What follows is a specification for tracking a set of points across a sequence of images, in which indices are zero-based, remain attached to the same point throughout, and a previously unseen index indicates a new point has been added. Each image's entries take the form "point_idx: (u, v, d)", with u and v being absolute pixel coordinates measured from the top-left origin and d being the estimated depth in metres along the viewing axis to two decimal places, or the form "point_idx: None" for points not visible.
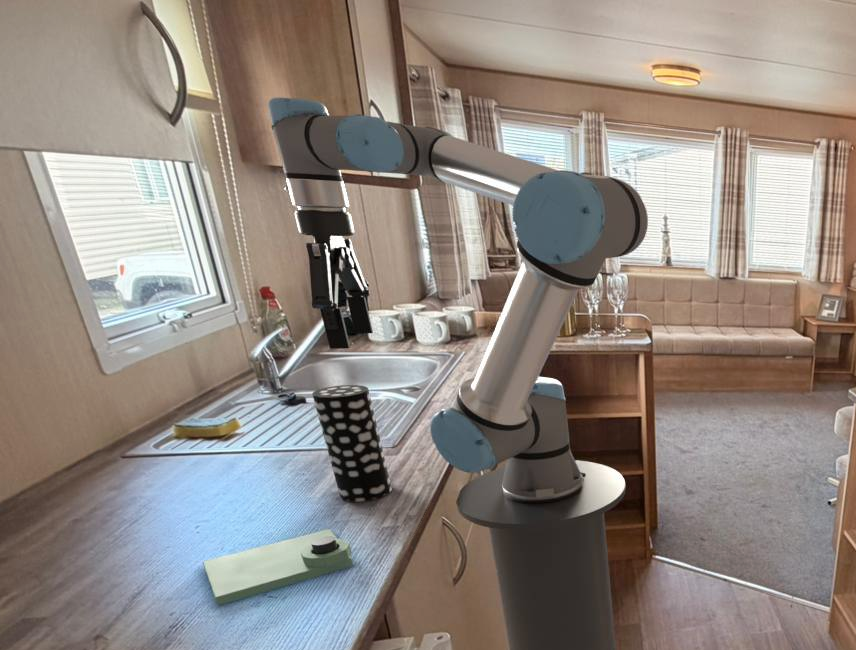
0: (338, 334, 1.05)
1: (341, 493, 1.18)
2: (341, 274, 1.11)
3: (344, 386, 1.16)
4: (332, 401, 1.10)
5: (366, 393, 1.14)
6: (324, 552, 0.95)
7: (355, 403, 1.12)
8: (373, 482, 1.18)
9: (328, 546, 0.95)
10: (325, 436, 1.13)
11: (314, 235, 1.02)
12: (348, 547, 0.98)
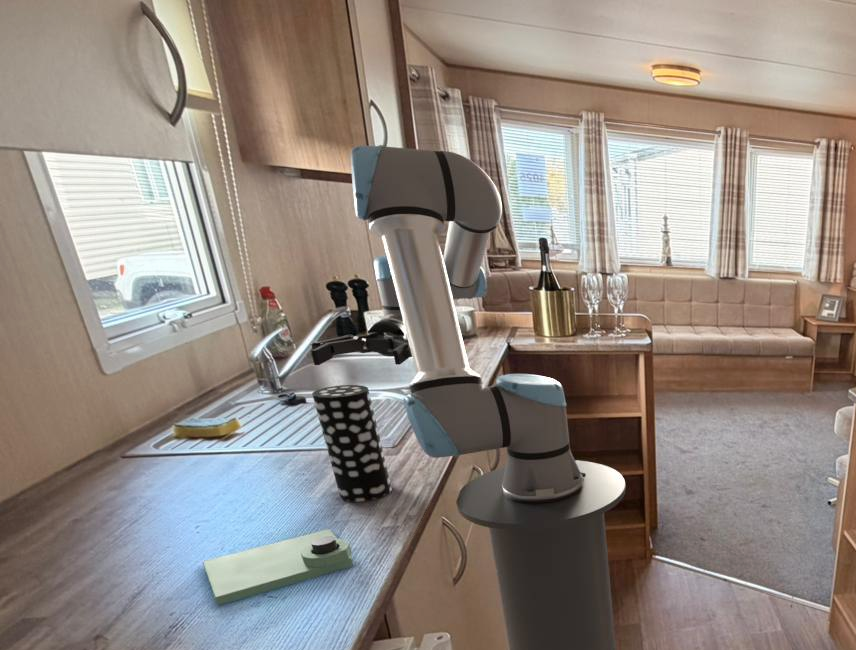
0: None
1: (341, 493, 1.18)
2: None
3: (344, 386, 1.16)
4: (332, 401, 1.10)
5: (366, 393, 1.14)
6: (324, 552, 0.95)
7: (355, 403, 1.12)
8: (373, 482, 1.18)
9: (328, 546, 0.95)
10: (325, 436, 1.13)
11: None
12: (348, 547, 0.98)
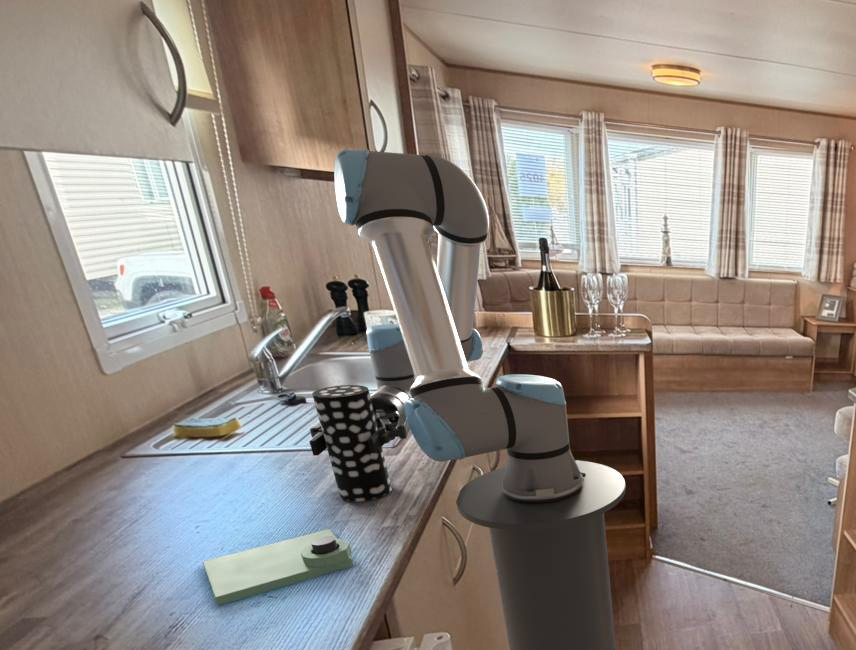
0: None
1: (341, 493, 1.18)
2: None
3: (344, 386, 1.16)
4: (332, 401, 1.10)
5: (366, 393, 1.14)
6: (324, 552, 0.95)
7: (355, 403, 1.12)
8: (373, 482, 1.18)
9: (328, 546, 0.95)
10: (325, 436, 1.13)
11: None
12: (348, 547, 0.98)
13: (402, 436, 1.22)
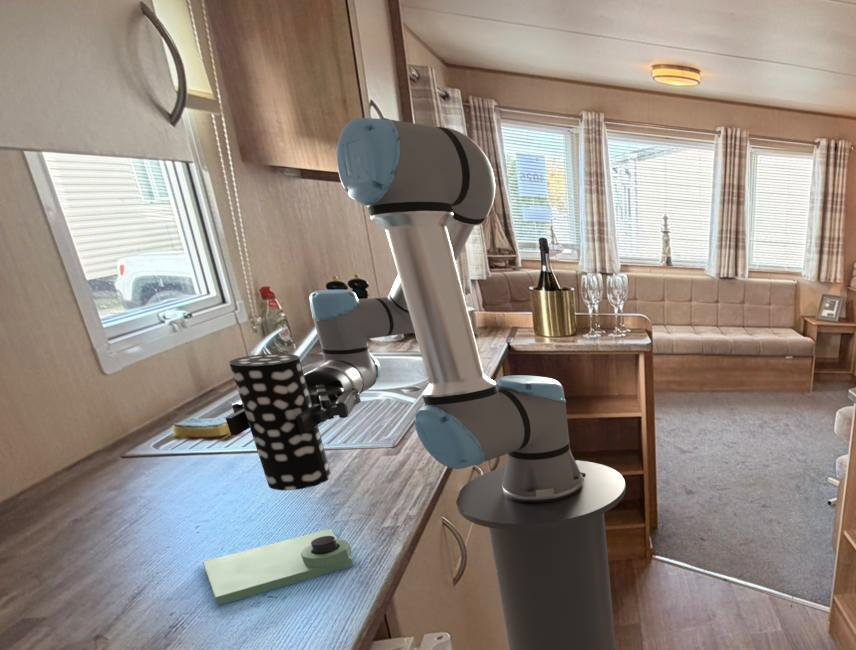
0: None
1: (268, 480, 1.01)
2: None
3: (271, 355, 0.99)
4: (252, 371, 0.93)
5: (295, 362, 0.97)
6: (324, 552, 0.95)
7: (280, 374, 0.95)
8: (306, 468, 1.01)
9: (328, 546, 0.95)
10: (246, 413, 0.96)
11: None
12: (348, 547, 0.98)
13: (342, 415, 1.04)
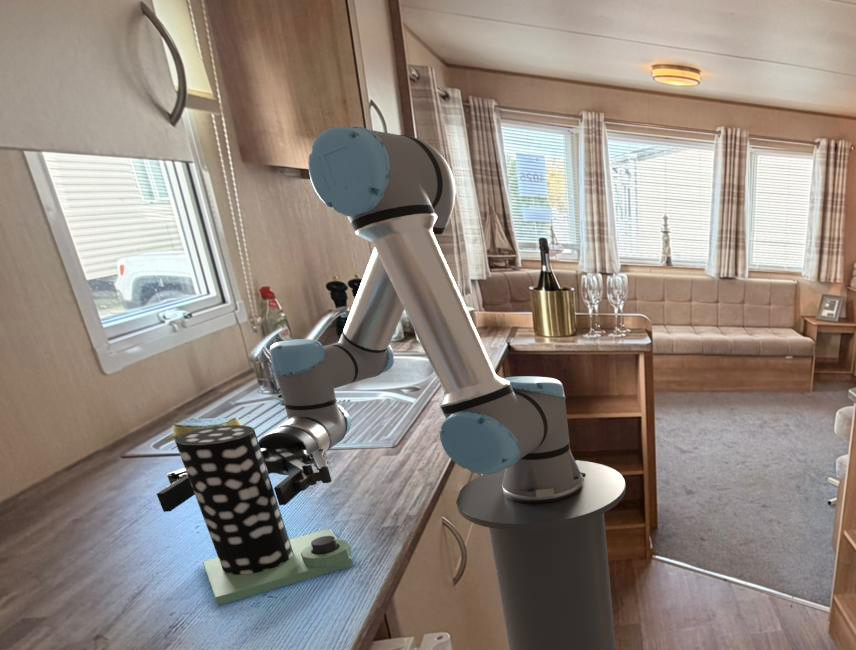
0: None
1: (222, 564, 0.92)
2: (292, 472, 0.99)
3: (224, 427, 0.90)
4: (200, 450, 0.84)
5: (250, 437, 0.88)
6: (324, 552, 0.95)
7: (232, 451, 0.86)
8: (263, 549, 0.92)
9: (328, 546, 0.95)
10: (195, 493, 0.87)
11: None
12: (348, 547, 0.98)
13: (326, 480, 0.97)
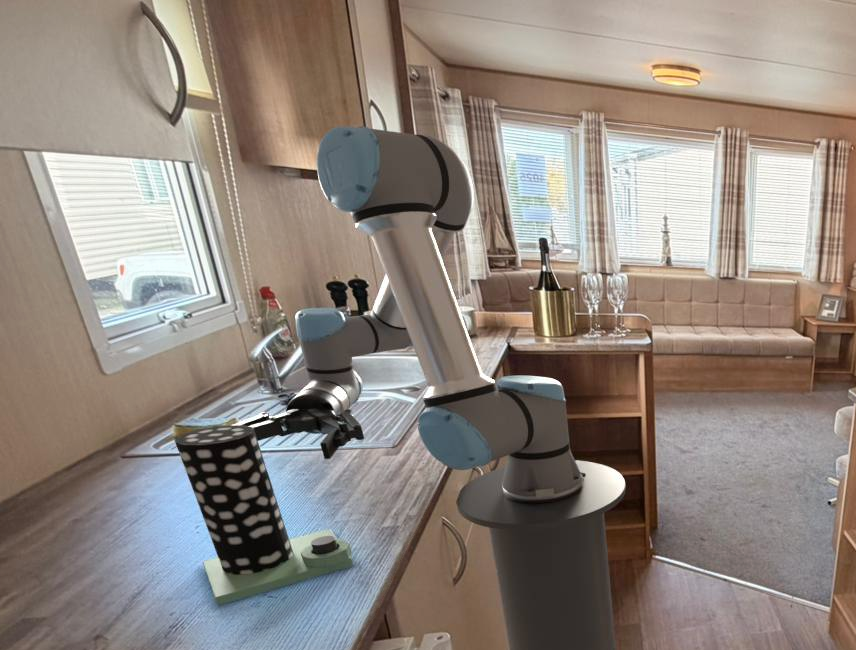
0: None
1: (222, 564, 0.92)
2: (326, 430, 1.09)
3: (223, 427, 0.90)
4: (199, 450, 0.84)
5: (250, 437, 0.88)
6: (324, 552, 0.95)
7: (232, 451, 0.86)
8: (263, 549, 0.92)
9: (328, 546, 0.95)
10: (195, 493, 0.87)
11: None
12: (348, 547, 0.98)
13: (360, 437, 1.08)
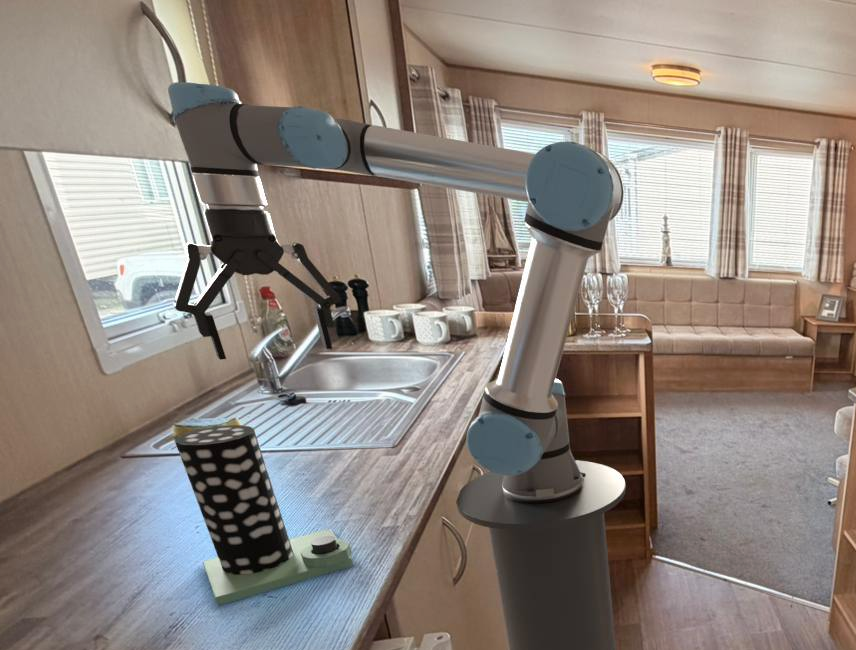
0: (213, 343, 0.96)
1: (222, 564, 0.92)
2: (288, 281, 1.00)
3: (223, 427, 0.90)
4: (199, 450, 0.84)
5: (250, 437, 0.88)
6: (324, 552, 0.95)
7: (232, 451, 0.86)
8: (263, 549, 0.92)
9: (328, 546, 0.95)
10: (195, 493, 0.87)
11: None
12: (348, 547, 0.98)
13: None
